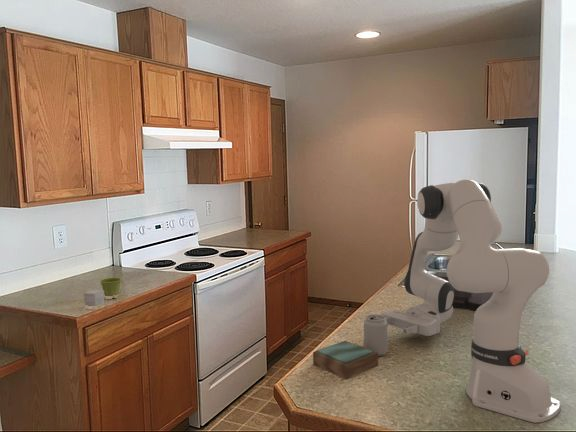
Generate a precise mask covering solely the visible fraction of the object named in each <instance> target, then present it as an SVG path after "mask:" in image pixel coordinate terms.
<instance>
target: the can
mask: <svg viewBox="0 0 576 432" xmlns="http://www.w3.org/2000/svg"><path fill="white" fill-rule="evenodd" d="M363 347H364V348H366V349H369V350H372V351H375V352H377V353H378V357H382V356H385V354H387V353H388V326H387V321H386V320H385V317H384V316H381V314H369V315H367V316H366V317H365V320H364V321H363Z"/></svg>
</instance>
